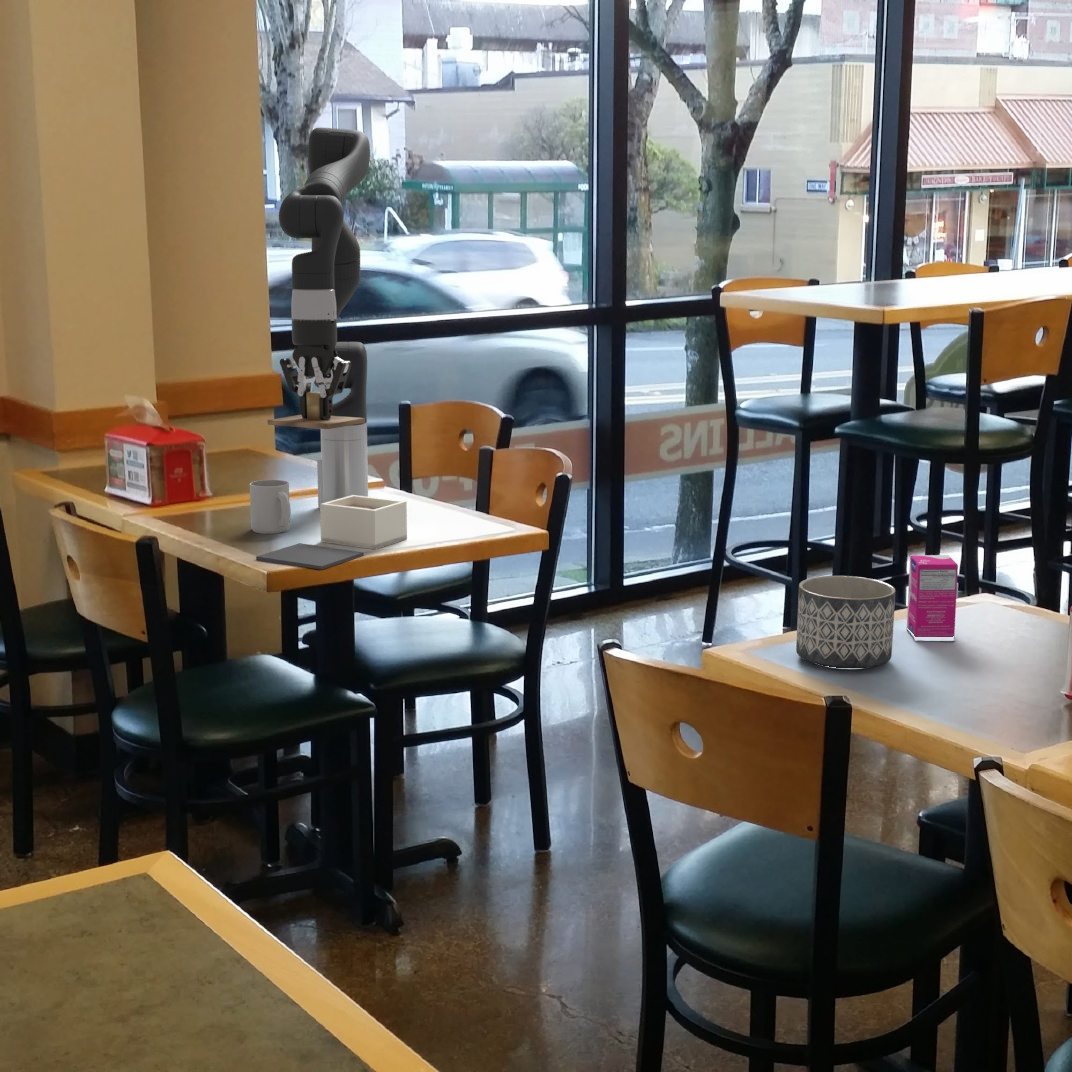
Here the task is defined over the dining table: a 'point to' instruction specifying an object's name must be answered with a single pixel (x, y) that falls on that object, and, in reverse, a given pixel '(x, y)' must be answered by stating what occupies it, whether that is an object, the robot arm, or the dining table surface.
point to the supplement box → (932, 595)
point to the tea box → (363, 521)
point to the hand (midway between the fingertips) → (316, 418)
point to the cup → (270, 506)
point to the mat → (310, 556)
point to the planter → (845, 621)
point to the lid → (315, 417)
